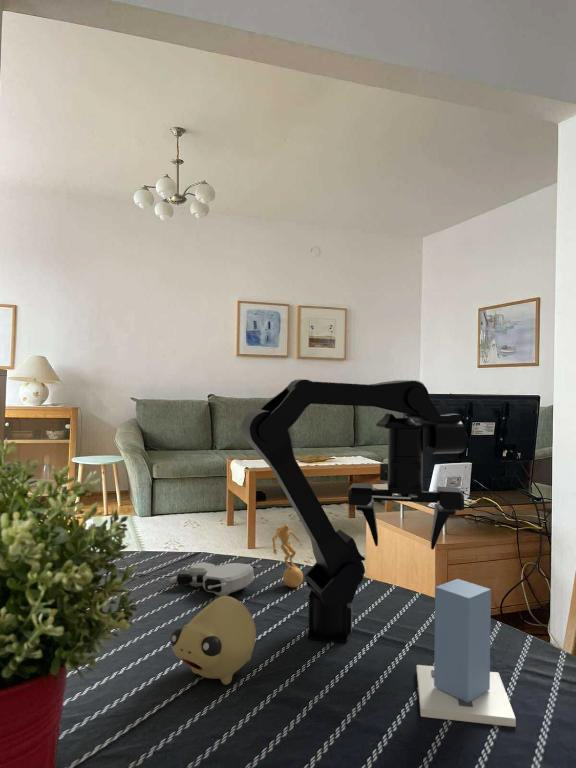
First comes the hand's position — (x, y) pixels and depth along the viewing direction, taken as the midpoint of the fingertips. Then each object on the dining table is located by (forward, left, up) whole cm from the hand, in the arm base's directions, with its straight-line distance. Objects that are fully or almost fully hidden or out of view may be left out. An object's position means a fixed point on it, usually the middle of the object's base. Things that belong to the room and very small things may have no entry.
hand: (404, 547), depth 97 cm
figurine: (-22, +14, -13) cm, 29 cm away
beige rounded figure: (-26, -23, -13) cm, 37 cm away
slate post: (+7, -22, -12) cm, 26 cm away
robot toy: (-36, +10, -13) cm, 40 cm away
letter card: (+7, -22, -13) cm, 26 cm away
